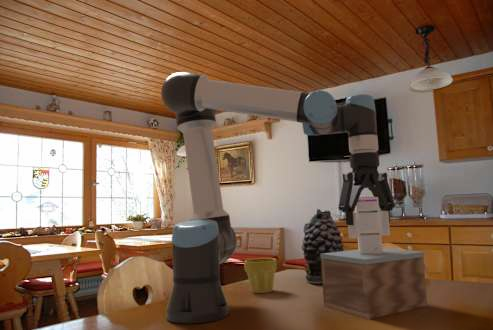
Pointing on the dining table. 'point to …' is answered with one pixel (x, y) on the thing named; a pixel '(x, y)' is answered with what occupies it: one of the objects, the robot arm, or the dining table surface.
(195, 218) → the robot arm
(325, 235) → the dark pine cone
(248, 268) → the plant pot
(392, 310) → the walnut crate
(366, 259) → the crate lid
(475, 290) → the dining table surface
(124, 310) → the dining table surface
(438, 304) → the dining table surface
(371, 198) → the syrup box
